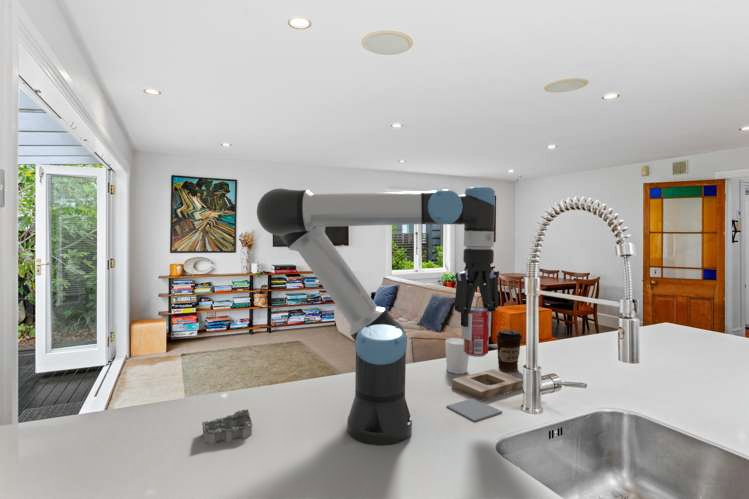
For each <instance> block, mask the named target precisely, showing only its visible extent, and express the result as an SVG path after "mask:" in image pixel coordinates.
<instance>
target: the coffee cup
mask: <svg viewBox="0 0 749 499" xmlns="http://www.w3.org/2000/svg"><path fill="white" fill-rule="evenodd" d="M522 340H523V335H522V334H521V332H520V331H519V330H516V329H501V330H498V333H497V334H496V343H497V346H496V347H497V349H496V350H497V364H498V369H499V371H502V372H511V373H512V372H517V371H519V368H518V366H519V364H518V363H519V357H520V352H521V351H520V348H521V341H522Z"/></svg>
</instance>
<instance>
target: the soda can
mask: <svg viewBox="0 0 749 499" xmlns="http://www.w3.org/2000/svg"><path fill="white" fill-rule="evenodd" d="M469 314H472V340H467V339H464V352H465V353H466V354H467V355H469V357H474V358H475V357H476V358H481V357H485V356H486V355H487V354H488V353H489V341H490V340H489V338H490V337H489V312H488V310H487V308H484V307H483V306H471V310H470V313H469Z"/></svg>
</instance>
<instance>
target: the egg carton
mask: <svg viewBox="0 0 749 499" xmlns="http://www.w3.org/2000/svg"><path fill="white" fill-rule="evenodd" d="M201 425H202V436H203V443H204V444H209V445H215V444H216V442H219V441H224V442H227V443H228V442H230V441H233V439H235V438H241V439H247V438H249V436H250V435H251V436H252V432H253V421H252V419H251V415H250V411H249V409H242V410H238V411H235V413H234V414H231V415H230V414H228V415H227V416H225V417H222V418H221V417H218V418H216V419H215V418H214V419H213V420H209V421H208V420H205V421H202V423H201Z"/></svg>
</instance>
